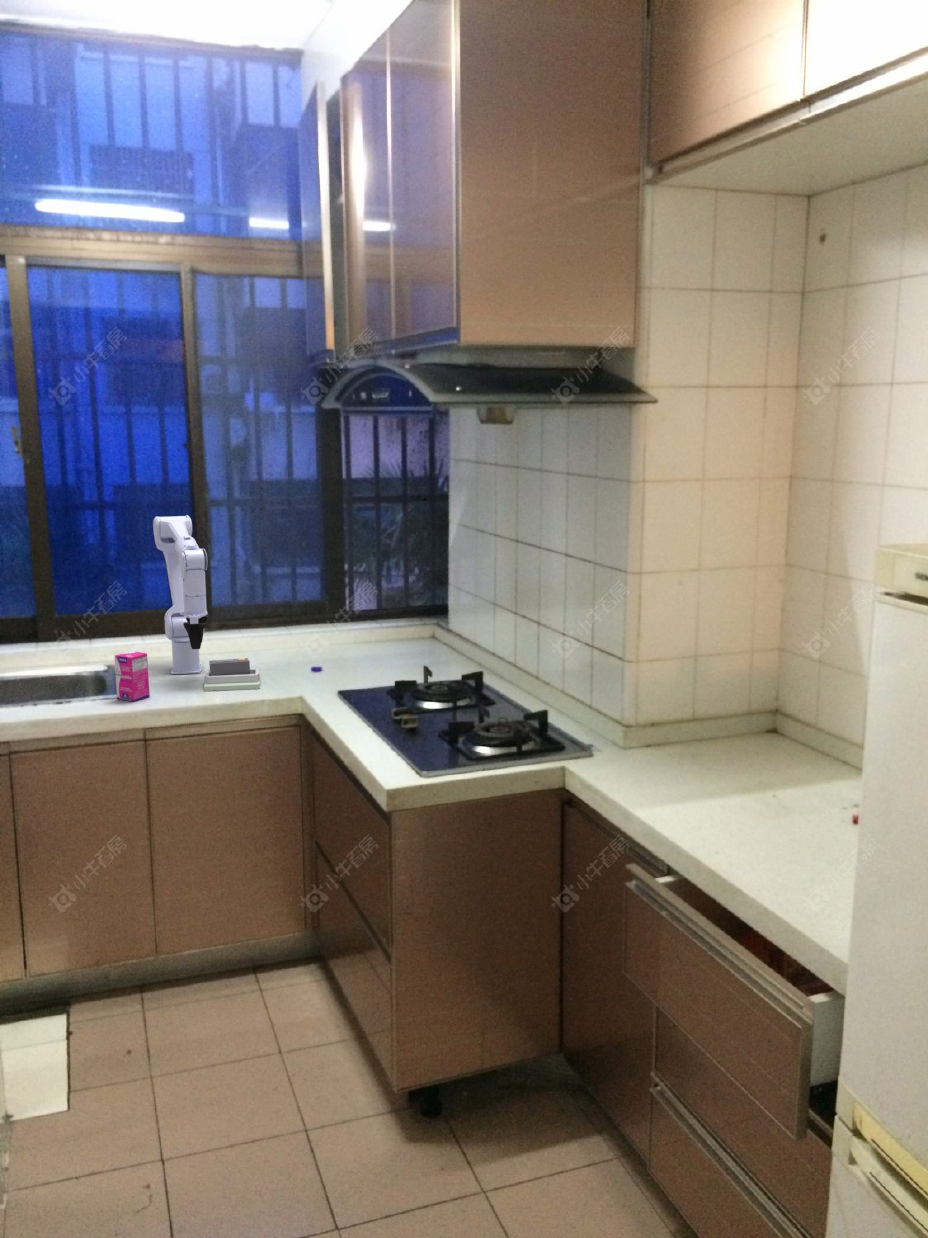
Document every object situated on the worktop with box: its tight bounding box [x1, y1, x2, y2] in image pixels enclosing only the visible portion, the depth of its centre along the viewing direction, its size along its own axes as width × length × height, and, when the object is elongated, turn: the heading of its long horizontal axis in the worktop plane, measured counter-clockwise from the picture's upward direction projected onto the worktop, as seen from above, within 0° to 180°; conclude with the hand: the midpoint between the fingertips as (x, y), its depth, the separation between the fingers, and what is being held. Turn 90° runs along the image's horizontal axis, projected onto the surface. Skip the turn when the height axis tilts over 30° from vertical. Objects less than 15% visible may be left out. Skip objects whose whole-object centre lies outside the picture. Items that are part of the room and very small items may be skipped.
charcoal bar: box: [208, 657, 251, 676], centre depth 272 cm, size 4×10×5 cm, turn 108°
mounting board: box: [203, 667, 261, 692], centre depth 272 cm, size 14×14×3 cm
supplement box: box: [113, 650, 151, 703], centre depth 256 cm, size 6×6×12 cm
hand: (196, 646), depth 272 cm, fingers open, 7 cm apart
